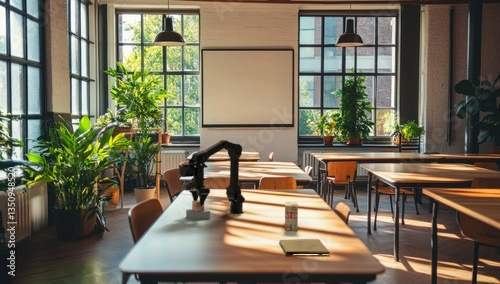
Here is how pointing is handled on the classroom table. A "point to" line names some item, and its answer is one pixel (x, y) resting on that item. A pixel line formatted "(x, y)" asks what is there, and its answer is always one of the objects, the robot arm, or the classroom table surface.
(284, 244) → the olive notebook
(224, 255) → the classroom table surface
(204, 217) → the base block
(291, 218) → the printed carton
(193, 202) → the terracotta cube
